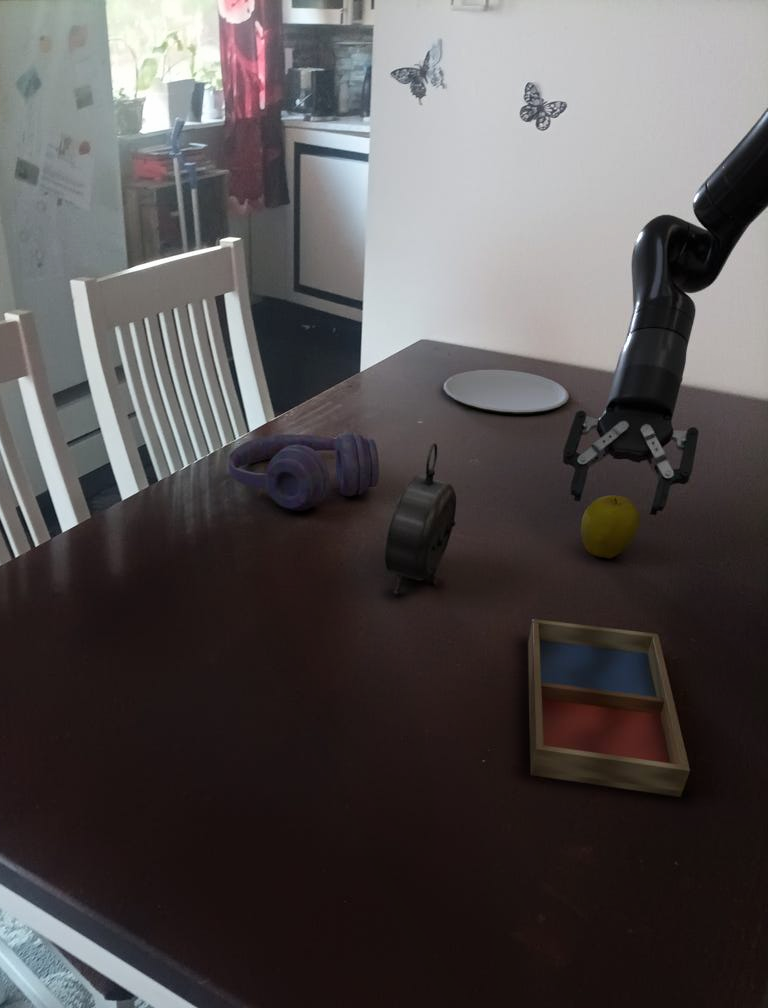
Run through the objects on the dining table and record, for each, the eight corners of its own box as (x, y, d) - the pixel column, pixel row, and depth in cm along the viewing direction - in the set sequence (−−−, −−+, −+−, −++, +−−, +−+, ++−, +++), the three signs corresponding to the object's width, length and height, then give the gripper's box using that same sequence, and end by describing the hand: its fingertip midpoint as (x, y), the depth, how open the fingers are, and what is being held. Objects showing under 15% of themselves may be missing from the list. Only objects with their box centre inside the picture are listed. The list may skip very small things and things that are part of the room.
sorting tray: (650, 658, 90) (658, 633, 88) (680, 797, 73) (690, 770, 72) (527, 643, 91) (532, 618, 90) (530, 775, 75) (536, 748, 74)
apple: (591, 570, 104) (605, 508, 99) (565, 544, 109) (578, 484, 104) (641, 565, 105) (658, 503, 100) (614, 540, 110) (629, 479, 106)
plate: (417, 393, 153) (418, 386, 152) (491, 368, 165) (492, 361, 164) (519, 428, 140) (520, 420, 140) (592, 398, 152) (593, 390, 151)
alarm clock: (411, 554, 107) (425, 422, 97) (455, 564, 105) (474, 431, 95) (378, 597, 98) (389, 458, 89) (424, 609, 96) (441, 468, 87)
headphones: (401, 493, 119) (315, 463, 134) (400, 431, 115) (312, 408, 130) (285, 526, 110) (208, 491, 126) (280, 461, 107) (201, 432, 122)
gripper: (587, 354, 105) (553, 482, 103) (717, 370, 100) (685, 505, 98) (584, 385, 112) (552, 506, 110) (706, 402, 108) (675, 528, 105)
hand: (615, 505), depth 104 cm, fingers open, 8 cm apart
